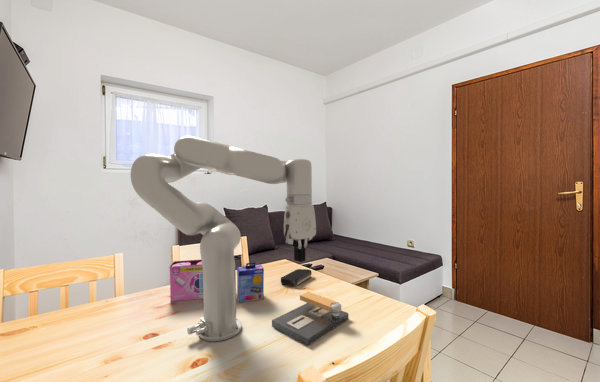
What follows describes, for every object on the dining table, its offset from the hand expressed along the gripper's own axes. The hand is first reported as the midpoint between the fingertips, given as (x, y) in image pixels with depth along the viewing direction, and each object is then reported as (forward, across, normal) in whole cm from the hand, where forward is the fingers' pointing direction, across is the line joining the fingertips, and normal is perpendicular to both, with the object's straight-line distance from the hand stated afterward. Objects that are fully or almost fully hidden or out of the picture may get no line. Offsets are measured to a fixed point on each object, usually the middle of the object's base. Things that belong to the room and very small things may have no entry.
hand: (299, 260), depth 83 cm
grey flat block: (+21, +5, 0) cm, 22 cm away
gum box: (+21, -8, +46) cm, 52 cm away
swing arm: (+17, +10, 0) cm, 20 cm away
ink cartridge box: (+21, +3, +30) cm, 37 cm away
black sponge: (+22, +29, +30) cm, 47 cm away
